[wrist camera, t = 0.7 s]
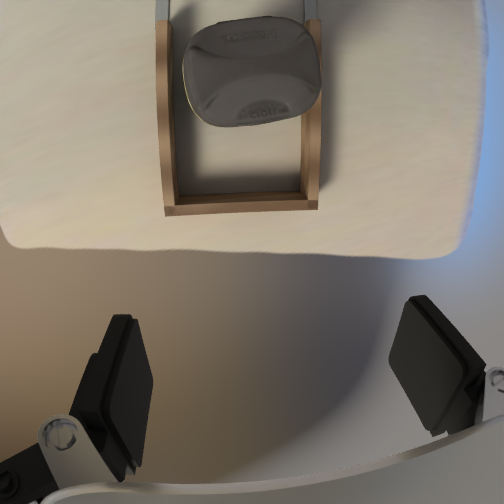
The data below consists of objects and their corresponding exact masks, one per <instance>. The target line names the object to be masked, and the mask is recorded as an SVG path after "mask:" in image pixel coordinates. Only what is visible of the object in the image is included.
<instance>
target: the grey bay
mask: <svg viewBox="0 0 504 504" xmlns="http://www.w3.org/2000/svg"><path fill="white" fill-rule="evenodd" d="M168 9H169V0H156V17H155V30H156V21H158V20H166V19H167V20H168ZM304 15H305V22H307V21H308V20H309V19H316V20H317V3H316V0H304Z"/></svg>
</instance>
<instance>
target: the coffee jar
mask: <svg viewBox="0 0 504 504" xmlns="http://www.w3.org/2000/svg"><path fill="white" fill-rule="evenodd" d="M183 78H184V85H185V90H186V95H187V98H188V101H189V104H190V106H191V108H192V110H193V112H194V113H195V114H196V115H197V116H198V117H199V118H200V119H201V120H202V121H204V122H206V123H208V124H210V125H213V126H217V127H239V126H252V125H257V124H258V125H259V124H265V123H270V122H274V121H279V120H283V119H288V118H293V117H296V116H299V115H301V114H303V113H305V112H306V111H307V110H309V109H310V108H311V107H312V106H313V105H314V104H315V102H316V100H317V98H318V97H319V94H320V91H321V68H320V61H319V56H318V51H317V48H316V44H315V41H314V39H313V36H312V35H311V34H310V32H309V31H308V30H307V29H306V28H305V27H304V26H302V25H301V24H300V23H298V22H296V21H294V20H291V19H288V18H283V17H272V16H263V17H254V18H245V19H238V20H230V21H223V22H218V23H216V24H214V25H211V26H208V27H206V28H204V29H202V30H200V31H199V32H198V33H196V34H195V35H194V36H193V37H192V39H191V40H190V41H189V43H188V45H187V46H186V49H185V53H184V58H183Z"/></svg>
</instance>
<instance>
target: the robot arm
mask: <svg viewBox="0 0 504 504" xmlns="http://www.w3.org/2000/svg"><path fill="white" fill-rule="evenodd" d="M389 364H390V366H391V368H392V370H393V372H394V373H395V375H396V377H397V379H398V380H399V382H400V384H401V386H402V387H403V389H404V391H405V393H406V395H407V396H408V398H409V400H410V402H411V404H412V405H413V407H414V409H415V411H416V413H417V414H418V416H419V418H420V420H421V422H422V424H423V426H424V427H425V429H426V430H428V431H430V433H431V434H432V437H434V436H437V435H440V434H442V433H444V432H445V431H446V430H447V432H448V436H447V437H445V438H442V439H440V440H437V441H434V442H432V443H429V444H427V445H423V446H420V447H418V448H415V449H412V450H409V451H405V452H402V453H399V454H396V455H392V456H389V457H386V458H382V459H379V460H375V461H371V462H367V463H363V464H359V465H355V466H351V467H346V468H342V469H338V470H332V471H327V472H322V473H316V474H310V475H304V476H298V477H291V478H283V479H275V480H266V481H255V482H243V483H223V484H159V483H132V482H122V481H123V480H124V479H125V474H128V475H135V470H136V467H141V463H142V457H143V449H144V442H145V434H146V427H147V420H148V413H149V407H150V401H151V395H152V388H153V377H152V373H151V369H150V366H149V362H148V359H147V355H146V351H145V347H144V344H143V339H142V335H141V332H140V327H139V324H138V320H137V319H133V318H132V316H131V315H129V314H116V315H113V317H112V319H111V321H110V324H109V326H108V329H107V331H106V334H105V336H104V338H103V341H102V343H101V346H100V348H99V351H98V353H93V354H92V355H91V357H90V359H89V361H88V364H87V366H86V369H85V371H84V374H83V377H82V379H81V382H80V384H79V387H78V390H77V393H76V395H75V398H74V401H73V404H72V407H71V409H70V412H69V415H66V414H62V415H61V414H60V415H55V416H52V417H50V418H49V419H47V420H45V422H44V423H43V424H42V425H41V426H40V429H39V431H38V437H37V438H38V443H36V444H35V445H33V446H31V447H29V448H27V449H25V450H23V451H22V452H20V453H18V454H16V455H14V456H12V457H11V458H9V459H7V460H5V461H3V462H1V463H0V504H504V368H502V367H493V368H491V369H489V370H488V371H487V372H485V371H484V368H485V366H486V363H485V362H484V361H483V360H482V359H481V357H480V356H479V355H478V354H477V352H476V351H475V350H474V349H473V348H472V346H471V345H470V344H469V343H468V342H467V341H466V339H465V338H464V337H463V336H462V335H461V334H460V332H459V331H458V330H457V329H456V328H455V327H454V326H453V324H452V323H451V322H450V321H449V320H448V319H447V318H446V317H445V316H444V315H443V313H442V312H441V311H440V310H439V309H438V308H437V307H436V306H435V305H434V304H433V302H432V301H431V300H430V299H429V298H428V297H427V296H426V295H419V296H412V297H410V298H409V300H408V301H407V302H406V303H405V305H404V309H403V312H402V316H401V320H400V323H399V326H398V329H397V332H396V336H395V339H394V342H393V345H392V348H391V351H390V354H389Z"/></svg>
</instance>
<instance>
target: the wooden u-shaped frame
mask: <svg viewBox="0 0 504 504" xmlns="http://www.w3.org/2000/svg"><path fill="white" fill-rule="evenodd" d="M302 26H304V27H305V28H306V29H307V30H308V31H309V32H310V34H311V35H312V36H313V39H314V41H315V44H316V48H317V51H318V56H319V61H320V68H321V25H320V20H316V19H309V20H308V21H307V22H305V23H304V24H303V25H302ZM156 93H157V118H158V137H159V153H160V166H161V179H162V190H163V200H164V210H165V216H181V215H198V214H217V213H238V212H262V211H291V210H318V195H319V174H320V146H321V91H320V94H319V97H318V98H317V100H316V102H315V104H314V105H313V106H312V107H311V108H310V109H309V110H307V111H306V112H305V113H303V114H302V121H301V173H300V191H282V192H249V193H225V194H205V195H188V196H179V193H178V181H177V166H176V150H175V132H174V109H173V71H172V26H171V25H170V23H169V21H168V20H167V19H166V20H158V21H156Z"/></svg>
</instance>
